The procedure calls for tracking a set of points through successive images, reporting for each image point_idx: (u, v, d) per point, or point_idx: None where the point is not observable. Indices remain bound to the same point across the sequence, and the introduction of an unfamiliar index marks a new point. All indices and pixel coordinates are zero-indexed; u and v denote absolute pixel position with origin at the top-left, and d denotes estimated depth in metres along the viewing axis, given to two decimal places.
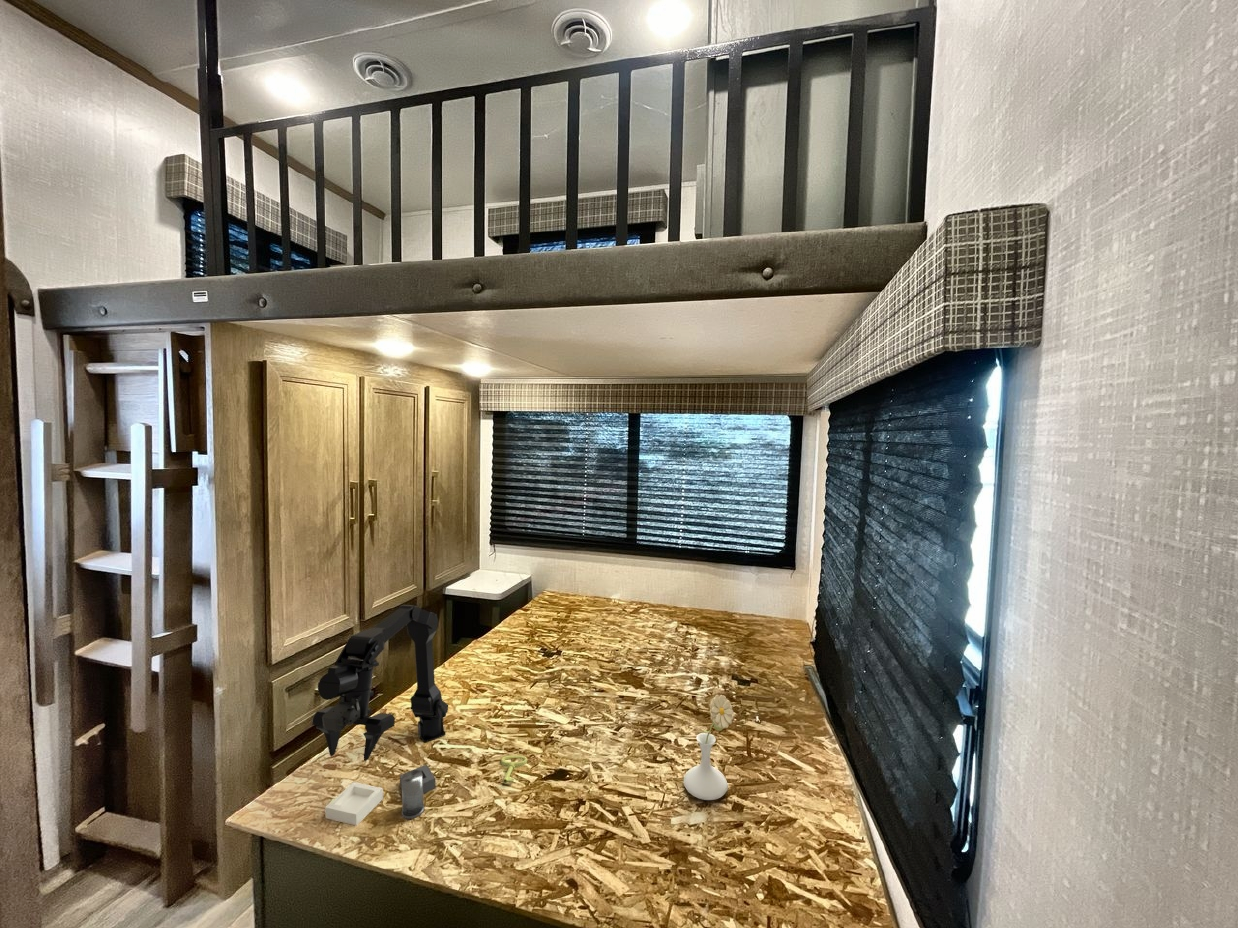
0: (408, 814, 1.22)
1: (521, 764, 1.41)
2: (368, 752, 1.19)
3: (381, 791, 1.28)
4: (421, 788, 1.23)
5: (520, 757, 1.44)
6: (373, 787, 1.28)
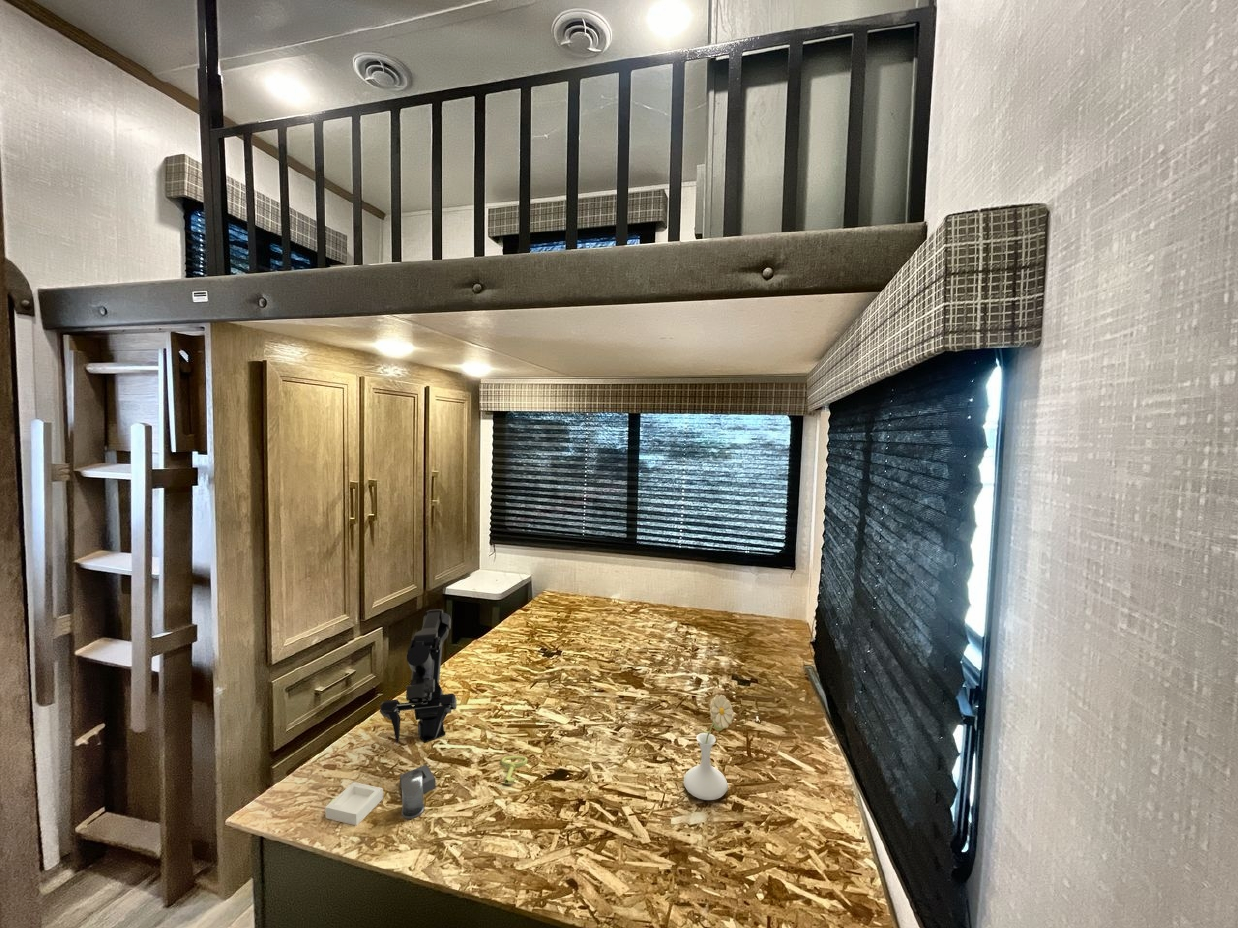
0: (408, 814, 1.22)
1: (521, 764, 1.41)
2: (438, 729, 1.33)
3: (381, 791, 1.28)
4: (421, 788, 1.23)
5: (520, 757, 1.44)
6: (373, 787, 1.28)
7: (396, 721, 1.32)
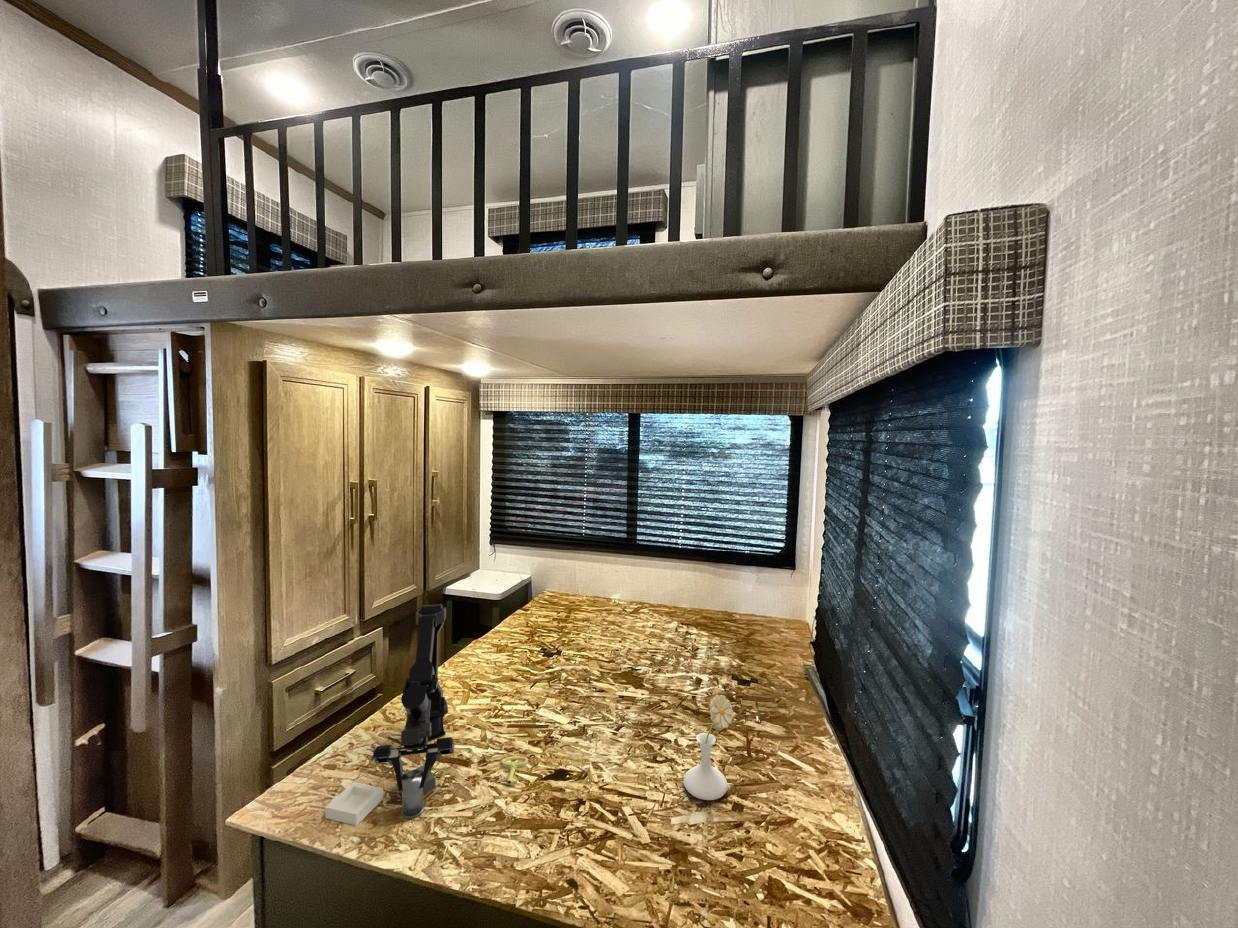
0: (408, 814, 1.22)
1: (522, 765, 1.40)
2: (426, 778, 1.24)
3: (381, 791, 1.28)
4: (421, 788, 1.23)
5: (520, 758, 1.44)
6: (373, 787, 1.28)
7: (398, 768, 1.24)
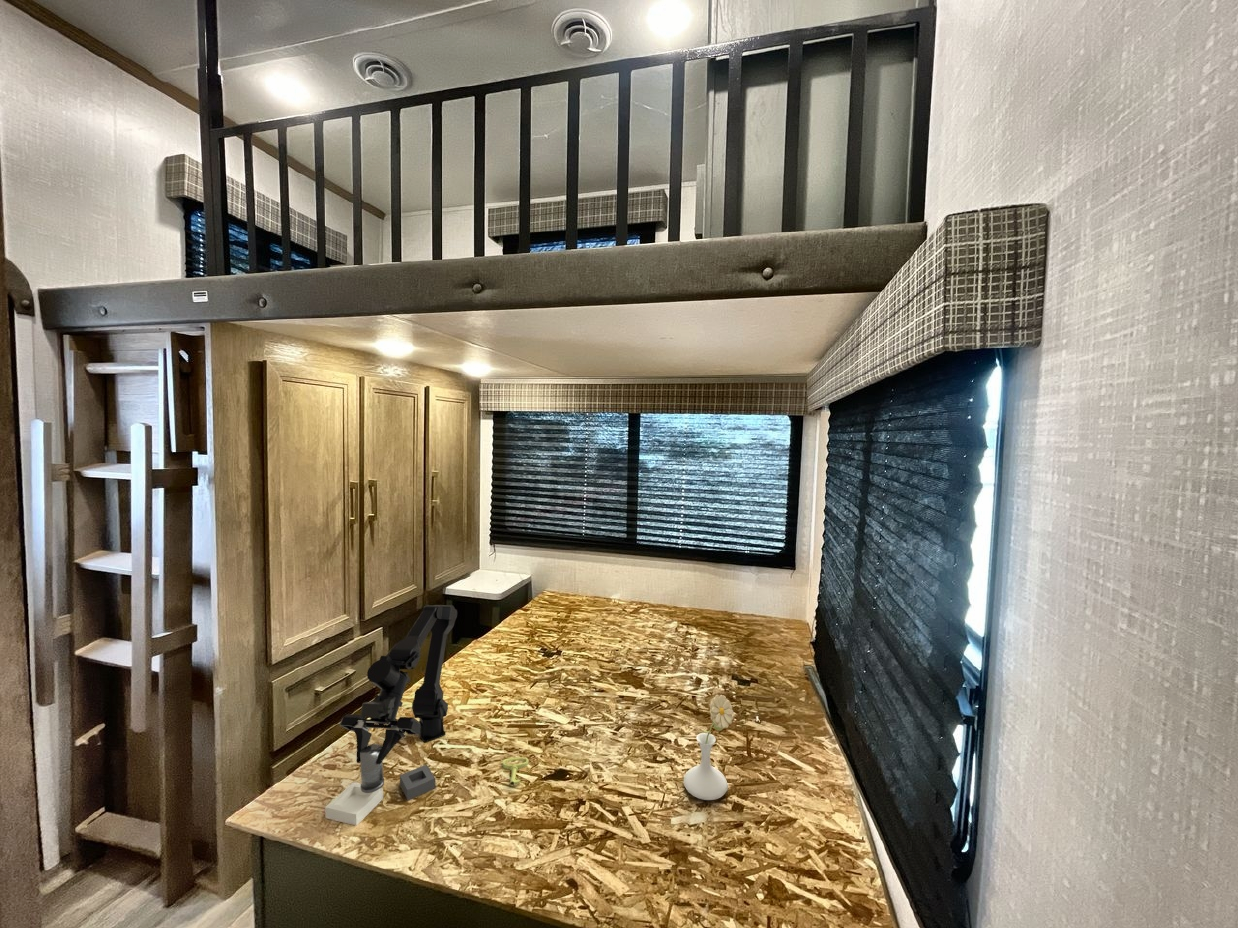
0: (364, 787, 1.21)
1: (524, 765, 1.40)
2: (383, 754, 1.22)
3: (381, 791, 1.28)
4: (378, 764, 1.22)
5: (521, 759, 1.43)
6: None
7: (360, 739, 1.24)
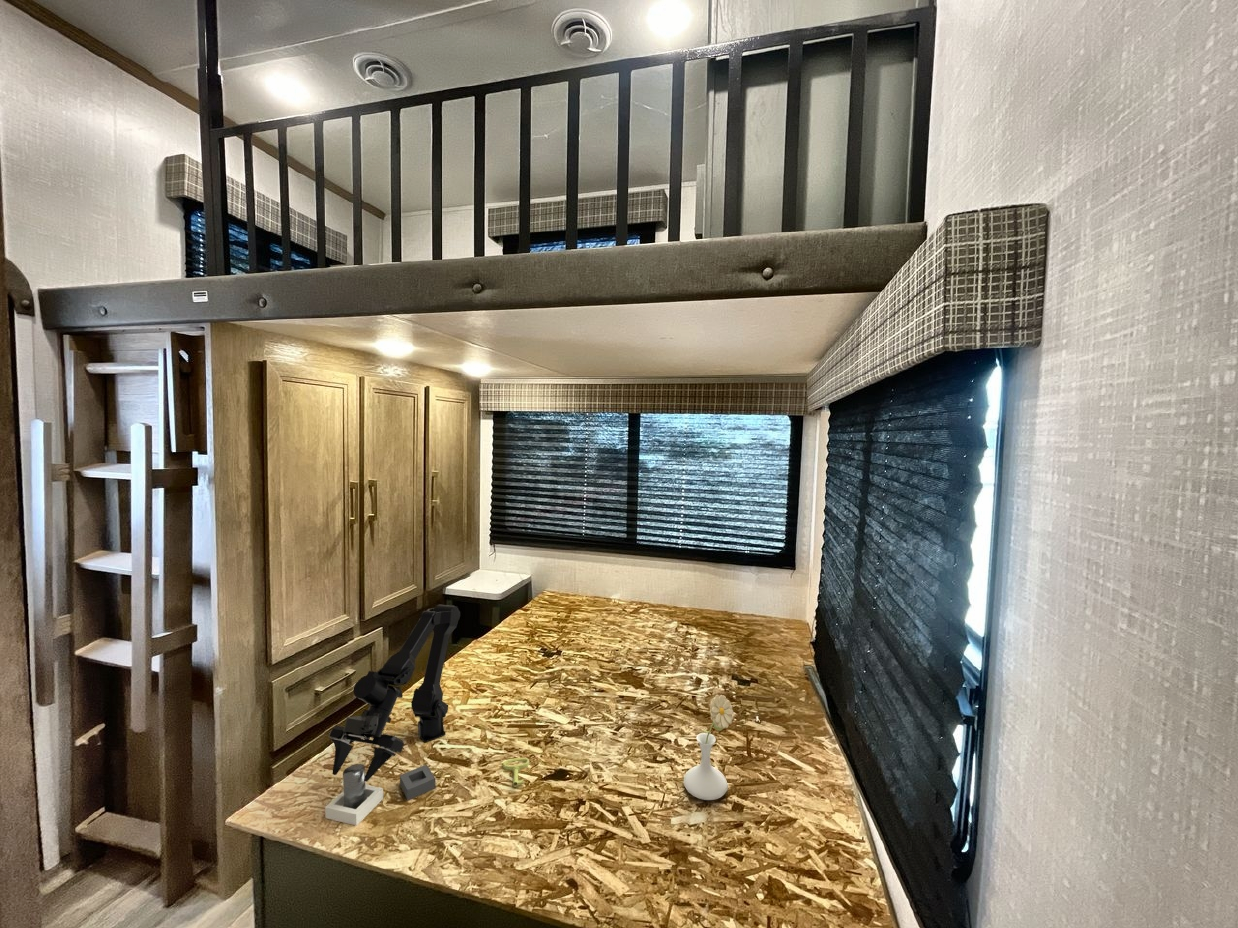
0: (346, 806, 1.23)
1: (525, 765, 1.40)
2: (370, 772, 1.23)
3: (381, 791, 1.28)
4: (359, 785, 1.23)
5: (521, 759, 1.43)
6: (373, 787, 1.28)
7: (338, 751, 1.26)
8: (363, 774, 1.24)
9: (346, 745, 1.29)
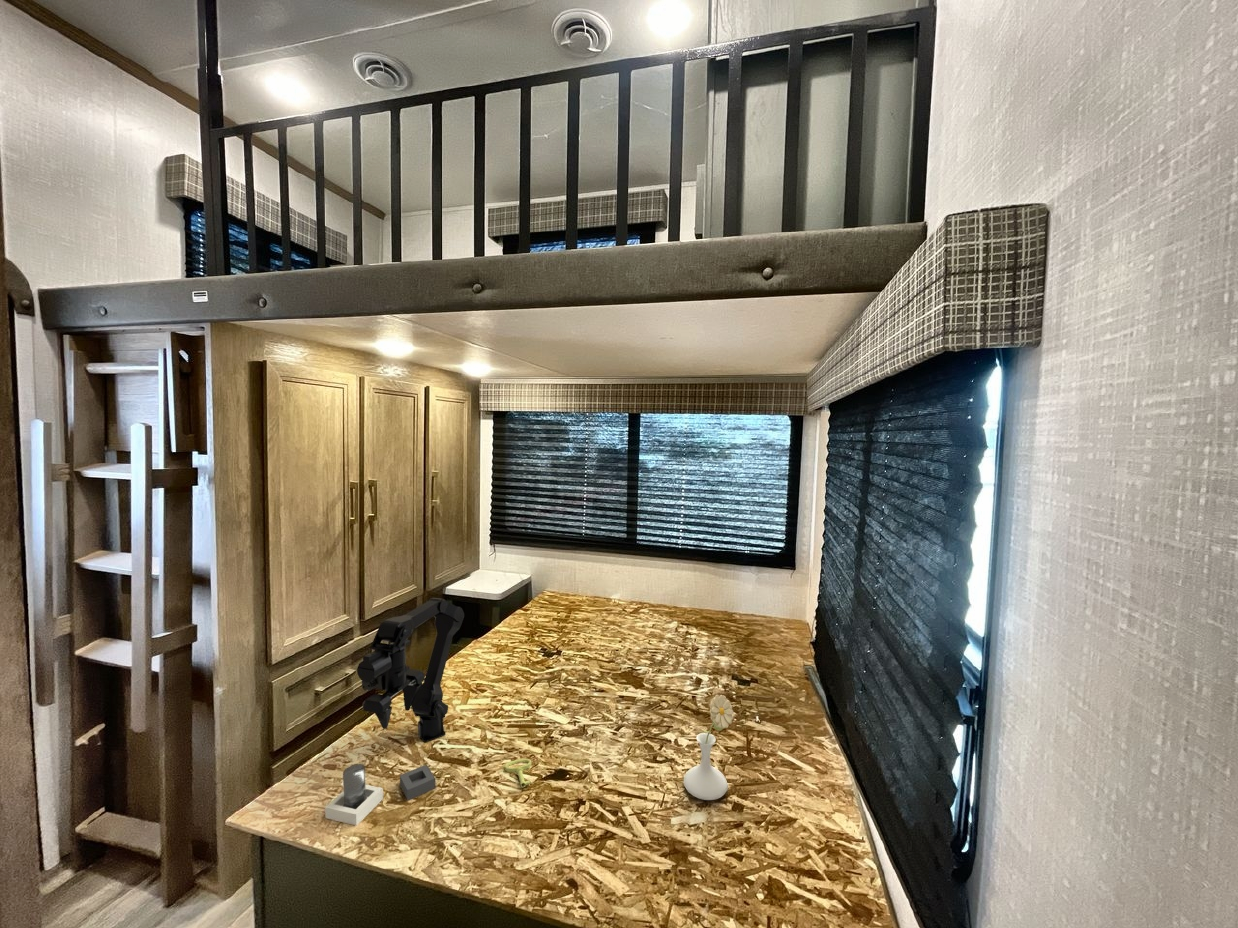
0: (346, 806, 1.23)
1: (528, 766, 1.40)
2: (381, 723, 1.36)
3: (381, 791, 1.28)
4: (359, 785, 1.23)
5: (522, 760, 1.42)
6: (373, 787, 1.28)
7: None
8: (363, 774, 1.24)
9: (408, 687, 1.45)
